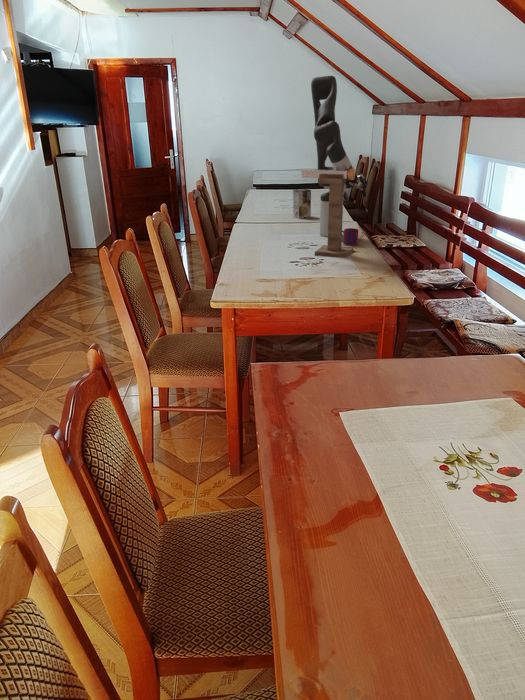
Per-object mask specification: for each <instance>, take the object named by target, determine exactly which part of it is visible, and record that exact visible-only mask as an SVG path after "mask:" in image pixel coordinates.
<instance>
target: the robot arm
mask: <svg viewBox="0 0 525 700" xmlns="http://www.w3.org/2000/svg"><path fill="white" fill-rule="evenodd" d="M310 89H311V91H310V92H311V97H312V105H313V106H312V107H313V112H314V114H313V115H314V130H313V138H314V140H315V141H316V142H315V144H316V152H317V170H348V169H354V167H353V165H352V162H351V160H350V158H349V156H348V155H347V153H346V151H345V148H344V146H343V143H342V142H343V141H342V136H341V128H340V125H339V123H338V121H336V113H335V112H336V111H335V110H336V109H335V108H336V104H337V103H336V102H337V94H338V84H337V78H336V76H334V75H324V76H316V77H313V78H312V80H311V84H310ZM323 100H324V101H323ZM321 101H323V102H322V103H321ZM327 158H328V159H329V161H330V164H331V166H326V160H327ZM345 180H346V182H345V183H344V195H343V201H344V200H345V201H346V202H348V201H349V200H350V197H349V195H348V193H347V191H346V189H347V190H348V189H350V188H352V189H353V188H355V189H358V190H360V192H361V195H362V196H363V198H366V197H367V195H368V191H367V190H366V189H367V188H368V186H369V183H368V180H367V179H366V177H365V174H364V173H360V175H357V174H356V173H355V178H354V180H347V179H345ZM319 186H320V187H329V184H319ZM328 216H329V191H328V192H325V193H322V194H321V195H320V211H319V236H321V237H328Z"/></svg>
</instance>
